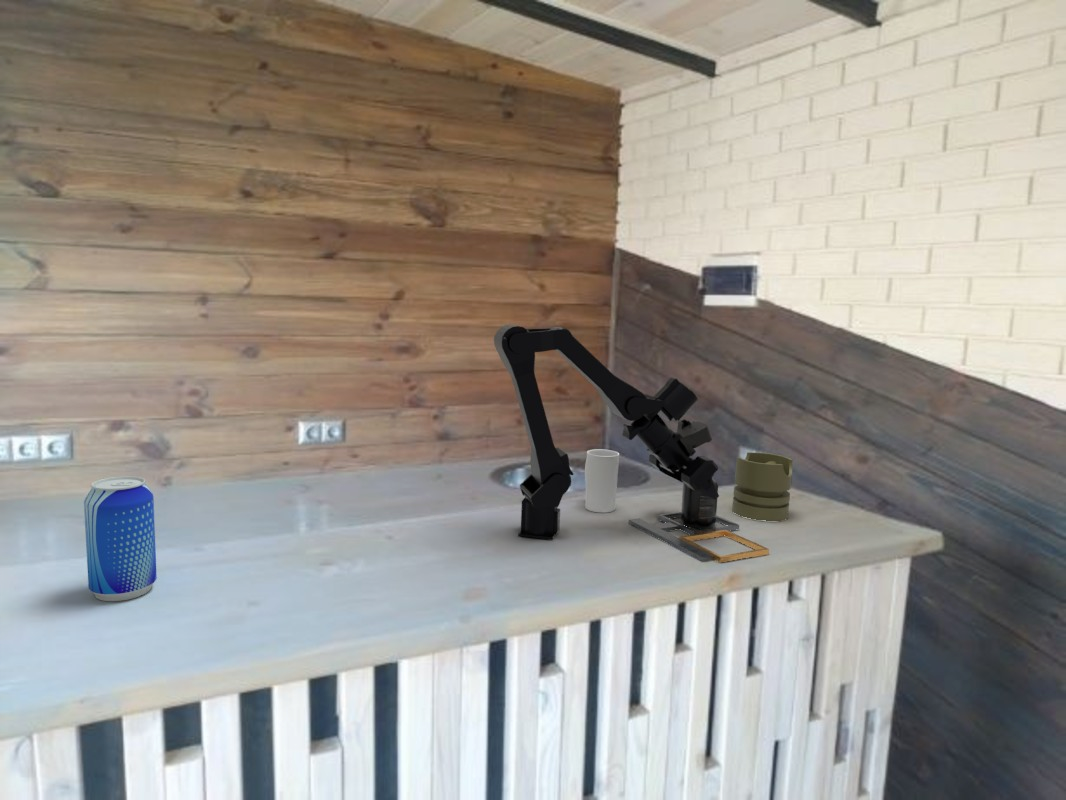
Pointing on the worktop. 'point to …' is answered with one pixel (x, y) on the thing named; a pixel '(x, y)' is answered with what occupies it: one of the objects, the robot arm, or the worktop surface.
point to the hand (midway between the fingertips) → (706, 492)
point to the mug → (601, 480)
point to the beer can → (120, 538)
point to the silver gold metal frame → (698, 538)
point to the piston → (762, 486)
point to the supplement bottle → (698, 509)
